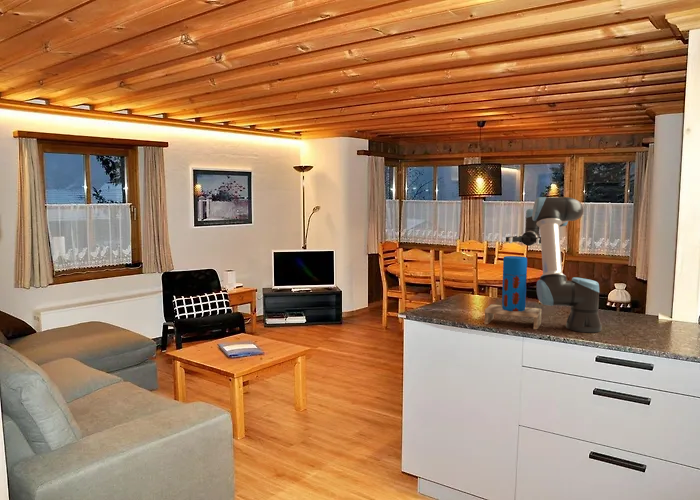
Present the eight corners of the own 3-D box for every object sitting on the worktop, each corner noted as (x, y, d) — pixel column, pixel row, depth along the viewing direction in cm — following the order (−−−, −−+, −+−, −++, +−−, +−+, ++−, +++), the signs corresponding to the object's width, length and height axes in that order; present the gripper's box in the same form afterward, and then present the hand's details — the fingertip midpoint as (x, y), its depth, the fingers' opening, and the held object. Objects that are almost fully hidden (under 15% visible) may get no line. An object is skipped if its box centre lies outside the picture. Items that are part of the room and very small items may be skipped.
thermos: (527, 311, 259) (528, 258, 257) (503, 311, 261) (505, 258, 258) (523, 307, 270) (525, 256, 267) (500, 306, 272) (502, 255, 269)
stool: (540, 323, 267) (541, 308, 266) (536, 329, 255) (537, 314, 254) (490, 318, 278) (491, 304, 277) (484, 323, 265) (484, 309, 264)
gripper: (553, 246, 297) (548, 249, 278) (505, 244, 308) (498, 247, 289) (553, 232, 296) (549, 234, 277) (506, 230, 307) (498, 233, 288)
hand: (523, 241), depth 283 cm, fingers open, 13 cm apart
